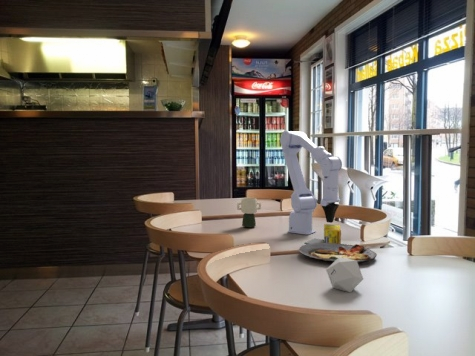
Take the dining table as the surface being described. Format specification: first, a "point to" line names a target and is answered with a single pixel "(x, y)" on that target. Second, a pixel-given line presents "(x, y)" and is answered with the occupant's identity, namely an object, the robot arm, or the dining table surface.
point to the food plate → (337, 252)
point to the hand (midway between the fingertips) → (329, 222)
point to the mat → (314, 241)
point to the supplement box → (332, 234)
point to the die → (344, 274)
